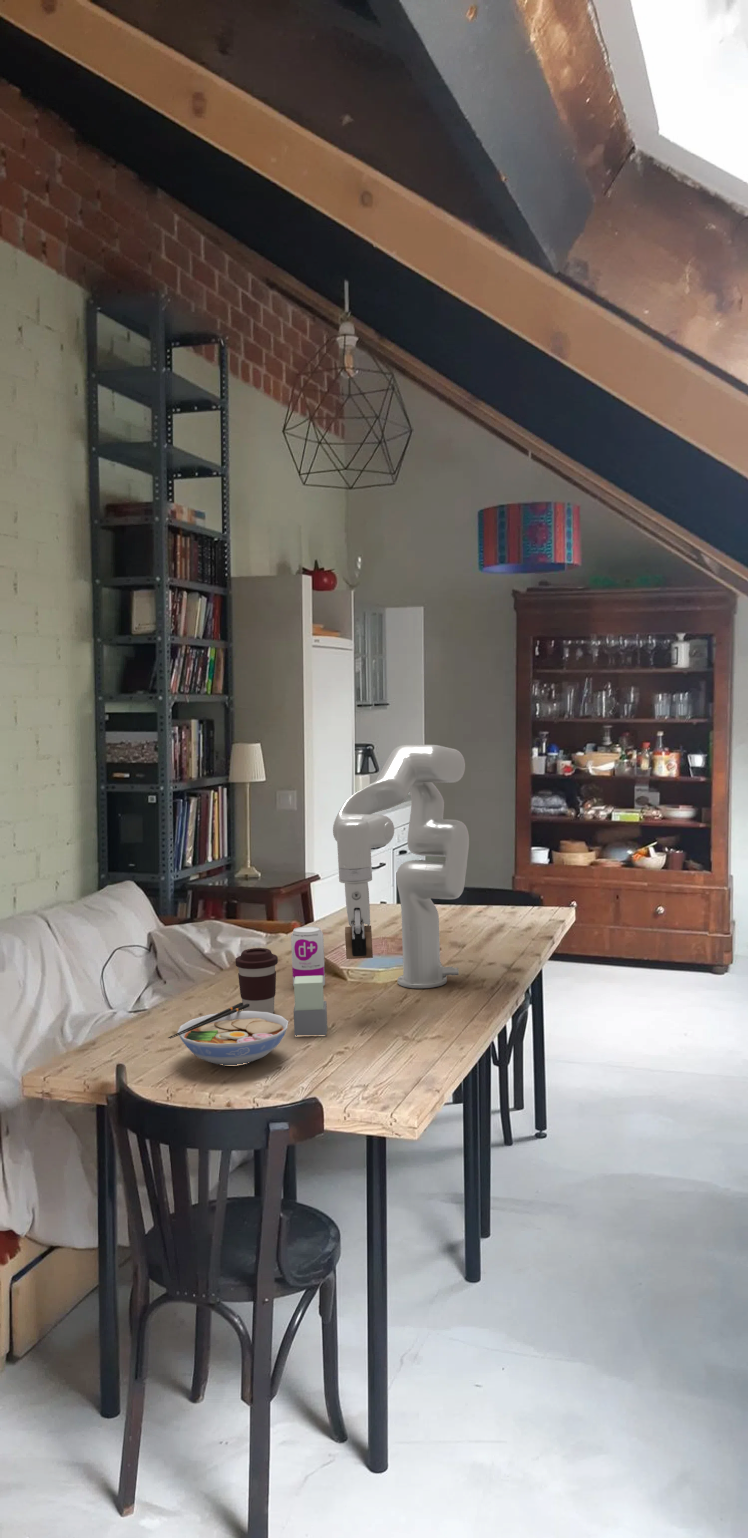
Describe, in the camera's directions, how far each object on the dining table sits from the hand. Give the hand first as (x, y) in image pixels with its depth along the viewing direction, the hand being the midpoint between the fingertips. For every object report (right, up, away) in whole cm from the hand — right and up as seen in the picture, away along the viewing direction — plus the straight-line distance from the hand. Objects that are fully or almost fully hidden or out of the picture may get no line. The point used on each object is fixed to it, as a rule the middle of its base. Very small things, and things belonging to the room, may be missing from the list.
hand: (359, 950), depth 257 cm
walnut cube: (0, -1, 0) cm, 1 cm away
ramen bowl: (-25, -19, -25) cm, 40 cm away
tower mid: (-11, -11, -7) cm, 17 cm away
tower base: (-11, -17, -7) cm, 21 cm away
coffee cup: (-24, -16, +9) cm, 30 cm away
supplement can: (-13, -14, +31) cm, 37 cm away
